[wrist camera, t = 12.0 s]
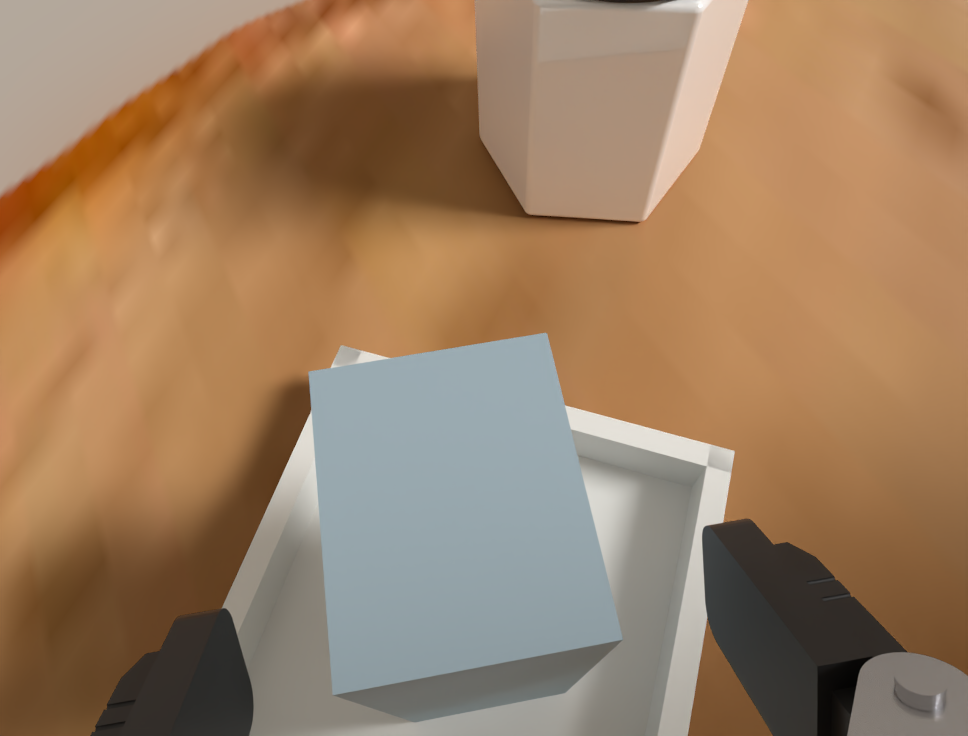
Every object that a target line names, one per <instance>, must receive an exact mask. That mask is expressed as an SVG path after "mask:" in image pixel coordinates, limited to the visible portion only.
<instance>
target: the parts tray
mask: <svg viewBox="0 0 968 736" xmlns="http://www.w3.org/2000/svg"><path fill="white" fill-rule="evenodd" d="M383 359H390V358H387V357H383V356H379V355H376V354H372V353H368V352H365V351H361V350H357V349H353V348H350V347H346V346H342V345H341V346H340V349H339V351H338V353H337V355H336V357H335V360H334V362H333V364H332V366H331V368H335V367H341V366H347V365H353V364H359V363H365V362H371V361H377V360H383ZM565 408H566V412H567V416H568V420H569V424H570V428H571V432H572V436H573V440H574V444H575V448H576V452H577V456H578V460H579V464H580V468H581V472H582V476H583V480H584V484H585V488H586V492H587V496H588V500H589V504H590V508H591V512H592V516H593V520H594V524H595V528H596V532H597V536H598V540H599V544H600V548H601V552H602V556H603V560H604V565H605V569H606V573H607V577H608V581H609V585H610V589H611V593H612V597H613V601H614V605H615V609H616V613H617V617H618V621H619V625H620V629H621V633H622V637H623V640H622V641H621V642H620V643H619V644H618V645H617V646H616V647H615V648H614V649H613V650H612V651H610V652H609V653H608V654H607V655H606V656H605V657H604V658H603V659H602V660H601V661H600V662H598V663H597V664H596V665H595V666H594V667H593V668H592V669H591V670H590V671H589V672H588V673H586V674H585V675H584V676H583V677H582V678H581V679H580V680H579V681H578V682H577V683H576V684H574V685H573V686H572V687H571V688H570V689H569V690H568V691H567V692H566V693H563V694H558V695H553V696H548V697H543V698H537V699H532V700H527V701H522V702H517V703H512V704H507V705H501V706H496V707H491V708H486V709H481V710H476V711H471V712H466V713H460V714H455V715H450V716H445V717H440V718H435V719H430V720H424V721H419V722H412V721H409V720H406V719H403V718H400V717H397V716H394V715H390V714H387V713H384V712H381V711H378V710H375V709H372V708H369V707H366V706H363V705H360V704H357V703H354V702H351V701H348V700H345V699H342V698H339V697H336V696H333V693H332V679H331V666H330V652H329V639H328V626H327V612H326V599H325V585H324V572H323V559H322V545H321V532H320V518H319V505H318V492H317V478H316V465H315V451H314V438H313V425H312V411H311V413H310V415H309V417H308V419H307V421H306V424H305V426H304V428H303V430H302V432H301V435H300V437H299V439H298V441H297V443H296V446H295V448H294V450H293V452H292V454H291V457H290V459H289V461H288V463H287V465H286V468H285V470H284V472H283V474H282V476H281V479H280V481H279V483H278V485H277V487H276V490H275V492H274V494H273V496H272V499H271V501H270V503H269V505H268V507H267V510H266V512H265V514H264V516H263V518H262V521H261V523H260V525H259V527H258V529H257V532H256V534H255V536H254V538H253V540H252V543H251V545H250V547H249V549H248V551H247V554H246V556H245V558H244V560H243V562H242V565H241V567H240V569H239V571H238V573H237V576H236V578H235V580H234V582H233V585H232V587H231V589H230V591H229V593H228V596H227V598H226V600H225V602H224V604H223V607H222V608H226V609H227V610H228V611H229V612H230V614H231V616H232V619H233V622H234V626H235V629H236V633H237V636H238V639H239V643H240V646H241V650H242V653H243V657H244V660H245V664H246V667H247V671H248V674H249V678H250V681H251V685H252V691H253V703H254V710H253V721H252V726H251V730H250V734H249V736H688V730H689V724H690V718H691V712H692V706H693V700H694V694H695V688H696V682H697V676H698V670H699V664H700V658H701V652H702V646H703V640H704V634H705V628H706V622H707V612H706V605H705V588H704V569H703V550H702V532H703V528H704V527H705V526H707V525H713V524H719V523H723V519H724V513H725V507H726V501H727V495H728V489H729V483H730V477H731V471H732V465H733V459H734V453H735V451H732V450H729V449H725V448H721V447H718V446H714V445H710V444H706V443H703V442H699V441H695V440H692V439H688V438H684V437H680V436H677V435H673V434H669V433H666V432H662V431H658V430H654V429H651V428H647V427H643V426H640V425H636V424H632V423H628V422H625V421H621V420H617V419H614V418H610V417H606V416H602V415H599V414H595V413H591V412H587V411H584V410H580V409H576V408H573V407H569V406H565Z"/></svg>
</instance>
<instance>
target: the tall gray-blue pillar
mask: <svg viewBox="0 0 968 736" xmlns="http://www.w3.org/2000/svg"><path fill="white" fill-rule="evenodd" d="M309 384H310V398H311V411H312V425H313V438H314V451H315V465H316V478H317V492H318V505H319V518H320V532H321V545H322V559H323V572H324V585H325V599H326V612H327V626H328V639H329V652H330V666H331V679H332V693H333V696H336V697H339V698H342V699H345V700H348V701H351V702H354V703H357V704H360V705H363V706H366V707H369V708H372V709H375V710H378V711H381V712H384V713H387V714H390V715H394V716H397V717H400V718H403V719H406V720H409V721H412V722H419V721H424V720H430V719H435V718H440V717H445V716H450V715H455V714H460V713H466V712H471V711H476V710H481V709H486V708H491V707H496V706H501V705H507V704H512V703H517V702H522V701H527V700H532V699H537V698H543V697H548V696H553V695H558V694H563V693H566V692H567V691H568V690H569V689H570V688H571V687H572V686H573V685H574V684H576V683H577V682H578V681H579V680H580V679H581V678H582V677H583V676H584V675H585V674H586V673H588V672H589V671H590V670H591V669H592V668H593V667H594V666H595V665H596V664H597V663H598V662H600V661H601V660H602V659H603V658H604V657H605V656H606V655H607V654H608V653H609V652H610V651H612V650H613V649H614V648H615V647H616V646H617V645H618V644H619V643H620V642H621V641H622V640H623V637H622V633H621V629H620V625H619V621H618V617H617V613H616V609H615V605H614V601H613V597H612V593H611V589H610V585H609V581H608V577H607V573H606V569H605V565H604V560H603V556H602V552H601V548H600V544H599V540H598V536H597V532H596V528H595V524H594V520H593V516H592V512H591V508H590V504H589V500H588V496H587V492H586V488H585V484H584V480H583V476H582V472H581V468H580V464H579V460H578V456H577V452H576V448H575V444H574V440H573V436H572V432H571V428H570V424H569V420H568V416H567V412H566V408H565V404H564V400H563V396H562V392H561V388H560V384H559V380H558V376H557V372H556V368H555V364H554V360H553V356H552V352H551V348H550V344H549V340H548V336H547V333H542V334H536V335H530V336H524V337H518V338H511V339H505V340H499V341H493V342H487V343H481V344H475V345H469V346H463V347H457V348H450V349H444V350H438V351H432V352H426V353H420V354H414V355H408V356H402V357H396V358H390V359H383V360H377V361H371V362H365V363H359V364H353V365H347V366H341V367H335V368H329V369H322V370H316V371H310V372H309Z"/></svg>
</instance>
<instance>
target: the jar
mask: <svg viewBox="0 0 968 736" xmlns="http://www.w3.org/2000/svg"><path fill="white" fill-rule="evenodd" d="M747 3H748V0H475V23H476V51H477V80H478V109H479V136H480V139H481V140H482V142H483V144H484V145H485V147H486V149H487V150H488V152H489V154H490V155H491V157H492V158H493V160H494V162H495V163H496V165H497V167H498V168H499V170H500V171H501V173H502V175H503V176H504V178H505V180H506V181H507V183H508V185H509V186H510V188H511V189H512V191H513V193H514V194H515V196H516V198H517V199H518V201H519V202H520V204H521V206H522V207H523V209H524V211H525V212H526V213H527V214H529V215H540V216H556V217H572V218H588V219H603V220H619V221H635V222H641V221H644V220H646V219H647V217H648V216H649V215H650V213H651V212H652V211H653V209H654V208H655V207H656V205H657V204H658V203H659V202H660V200H661V199H662V198H663V196H664V195H665V194H666V192H667V191H668V190H669V188H670V187H671V186H672V185H673V183H674V182H675V181H676V179H677V178H678V177H679V175H680V174H681V173H682V171H683V170H684V169H685V168H686V166H687V165H688V164H689V162H690V161H691V160H692V158H693V157H694V156H695V155H696V153H697V152H698V151H699V149H700V146H701V143H702V140H703V137H704V134H705V131H706V128H707V125H708V122H709V119H710V116H711V113H712V109H713V106H714V103H715V100H716V97H717V94H718V91H719V88H720V85H721V82H722V79H723V76H724V73H725V70H726V67H727V64H728V61H729V58H730V55H731V52H732V49H733V46H734V43H735V40H736V37H737V34H738V31H739V28H740V25H741V21H742V18H743V15H744V12H745V9H746V6H747Z"/></svg>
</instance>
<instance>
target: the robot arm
mask: <svg viewBox="0 0 968 736" xmlns="http://www.w3.org/2000/svg"><path fill="white" fill-rule="evenodd" d="M702 550H703V569H704V588H705V605H706V612H707V617H708V621H709V624H710V627H711V630H712V633H713V636H714V638H715V640H716V642H717V644H718V645H719V647H720V649H721V650H722V652H723V654H724V655H725V657H726V658H727V660H728V662H729V663H730V665H731V667H732V668H733V670H734V672H735V673H736V675H737V677H738V678H739V680H740V682H741V683H742V685H743V687H744V688H745V690H746V691H747V693H748V695H749V696H750V698H751V700H752V701H753V703H754V705H755V706H756V708H757V710H758V711H759V713H760V715H761V716H762V718H763V720H764V721H765V723H766V724H767V726H768V728H769V729H770V731H771V733H772V734H773V736H968V676H967V675H966V674H964V673H963V672H962V671H960V670H958V669H957V668H955V667H954V666H952V665H950V664H948V663H945V662H943V661H941V660H938V659H935V658H933V657H929V656H925V655H921V654H915V653H908V652H907V651H906V650H905V649H904V648H903V647H902V646H901V645H900V644H899V643H898V642H897V641H896V640H895V639H894V638H893V637H892V636H891V635H890V634H889V633H888V632H887V631H886V630H885V629H884V627H883V626H882V625H881V624H880V623H879V622H878V621H877V620H876V619H875V618H874V617H873V616H872V615H871V614H870V613H869V612H868V611H867V610H866V609H865V608H864V607H863V606H862V605H861V604H860V603H859V602H858V601H857V599H856V598H855V597H851V596H850V592H849V591H848V590H847V589H846V588H845V587H844V586H843V585H842V584H841V583H840V582H839V581H838V580H837V581H836V580H835V578H834V576H833V575H832V574H831V573H830V571H829V570H828V569H827V568H826V567H825V566H824V565H823V564H822V563H821V562H820V561H819V560H818V559H817V558H816V557H815V556H813V555H811V554H809V553H807V552H805V551H803V550H801V549H799V548H797V547H795V546H793V545H792V544H790V543H788V542H786V543H780V544H775V545H773V544H772V543H771V541H770V540H769V539H768V538H767V537H766V536H765V535H764V534H763V532H762V531H761V530H760V529H759V528H758V527H757V526H756V525H755V523H754V522H753V521H752V520H750V519H742V520H736V521H730V522H724V523H719V524H713V525H707V526H705V527H704V528H703V532H702ZM253 710H254V703H253V691H252V685H251V681H250V678H249V674H248V671H247V667H246V664H245V660H244V657H243V653H242V650H241V646H240V643H239V639H238V636H237V633H236V629H235V626H234V622H233V619H232V616H231V614H230V612H229V611H228V610H227V609H226V608H222V609H216V610H210V611H204V612H199V613H193V614H187V615H181V616H178V617H177V618H176V619H175V621H174V623H173V625H172V627H171V629H170V631H169V633H168V635H167V637H166V639H165V641H164V643H163V645H162V648H161V650H160V651H158V652H152V653H146V654H145V655H144V656H143V657H142V658H141V659H140V660H139V661H138V662H137V663H136V664H135V665H134V666H133V667H132V668H131V669H130V670H129V671H128V672H127V673H126V674H125V675H124V676H123V677H122V678H121V679H120V681H119V683H118V685H117V687H116V689H115V691H114V692H113V694H112V696H111V698H110V700H109V702H108V704H107V710H104V711H103V713H102V715H101V717H100V719H99V721H98V722H97V724H96V726H95V728H96V730H95V732H92V734H91V736H249V734H250V730H251V726H252V721H253Z"/></svg>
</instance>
